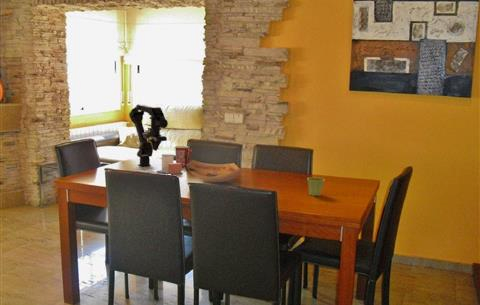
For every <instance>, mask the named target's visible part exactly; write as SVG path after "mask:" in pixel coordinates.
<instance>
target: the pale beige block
mask: <svg viewBox="0 0 480 305" xmlns="http://www.w3.org/2000/svg"><path fill="white" fill-rule="evenodd" d="M174 155H175V154H172V153H163V154H161V168H162V167H166V168H169V164H172V163H174V158H175V157H174Z"/></svg>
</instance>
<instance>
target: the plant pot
mask: <svg viewBox="0 0 480 305" xmlns="http://www.w3.org/2000/svg"><path fill="white" fill-rule="evenodd" d="M306 179H307V184H308V193H309V195H310V196H313V197H315V196H317V197H320V196H321V195H322V191H323V186H324V183H325V180H326V179H324V178H322V177H315V176H314V177H307V178H306Z"/></svg>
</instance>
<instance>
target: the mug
mask: <svg viewBox="0 0 480 305" xmlns="http://www.w3.org/2000/svg"><path fill="white" fill-rule="evenodd" d="M174 148H175V163H181V168H186V167H185V166H186V165H187V166H188V164H189V163H190V161H191V160H192V158H193V155H194V153H193V150H192V149H189V146H186V145H177V146H174ZM189 152H190V157H189V158H188V156H189V155H188V154H189Z"/></svg>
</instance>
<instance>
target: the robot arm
mask: <svg viewBox="0 0 480 305" xmlns="http://www.w3.org/2000/svg"><path fill="white" fill-rule="evenodd" d="M145 113H147V114H148V115H149V116H150V117H149V118H148V119H149V120H150V127H149V129H148V130H147V131H145V128H144V124H143V119H144V117H143V116H144V115H145ZM128 116H129V118H130V121H131V122H132V123H133V124H134V126H135V130H136V133H137V137H138V140H139V146H138V151H137V153H136V156H137V158H139V164H137V166H138V167H139V166H140V167H150V166H152V165H151V164H150V160H151V159H150V157H153V154H154V152H157V151H158V149H159V147H160V145H161V143H162V142H167V141H168V139H167V136H166V135H165V136H164V135H162V134H161V130H162V129H166V128H167V127H168V125H169V123H168V120H167V119H166V116H165V114H164V111H163V110H162V107H161V106H149V105H147V104H146V105H145V104H137V105H136V106H135V107H133V108H132V109H131V110H130V112H129V114H128ZM153 151H154V152H153Z"/></svg>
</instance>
